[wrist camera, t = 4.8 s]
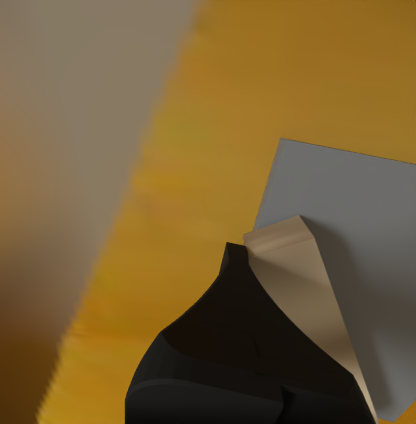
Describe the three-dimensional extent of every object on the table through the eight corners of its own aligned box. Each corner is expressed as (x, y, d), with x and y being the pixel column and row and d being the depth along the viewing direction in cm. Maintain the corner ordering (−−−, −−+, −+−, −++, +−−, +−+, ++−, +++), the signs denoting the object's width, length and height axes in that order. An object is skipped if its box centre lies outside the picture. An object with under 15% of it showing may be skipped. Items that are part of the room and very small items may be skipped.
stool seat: (383, 403, 17) (393, 422, 16) (214, 361, 18) (212, 376, 17) (569, 194, 10) (609, 202, 9) (280, 138, 11) (285, 139, 10)
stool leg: (366, 403, 15) (388, 449, 13) (323, 408, 16) (337, 452, 14) (298, 214, 11) (314, 237, 9) (243, 234, 12) (244, 260, 9)
